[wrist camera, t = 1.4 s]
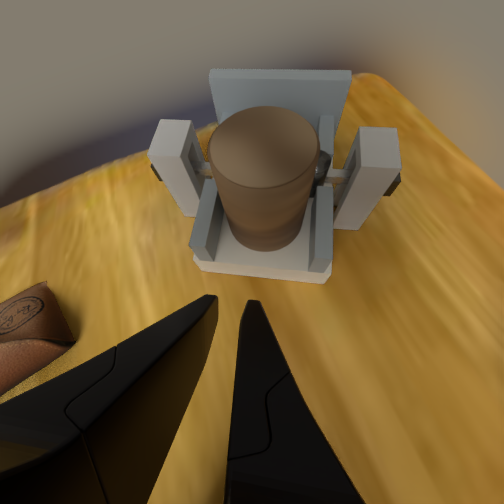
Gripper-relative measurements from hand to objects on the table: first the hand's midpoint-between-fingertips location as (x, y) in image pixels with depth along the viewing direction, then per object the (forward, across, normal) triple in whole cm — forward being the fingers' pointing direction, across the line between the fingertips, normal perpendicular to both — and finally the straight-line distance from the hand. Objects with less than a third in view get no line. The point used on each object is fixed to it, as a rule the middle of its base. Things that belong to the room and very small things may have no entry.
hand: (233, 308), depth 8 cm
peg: (+14, 0, 0) cm, 14 cm away
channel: (+17, 0, +1) cm, 17 cm away
